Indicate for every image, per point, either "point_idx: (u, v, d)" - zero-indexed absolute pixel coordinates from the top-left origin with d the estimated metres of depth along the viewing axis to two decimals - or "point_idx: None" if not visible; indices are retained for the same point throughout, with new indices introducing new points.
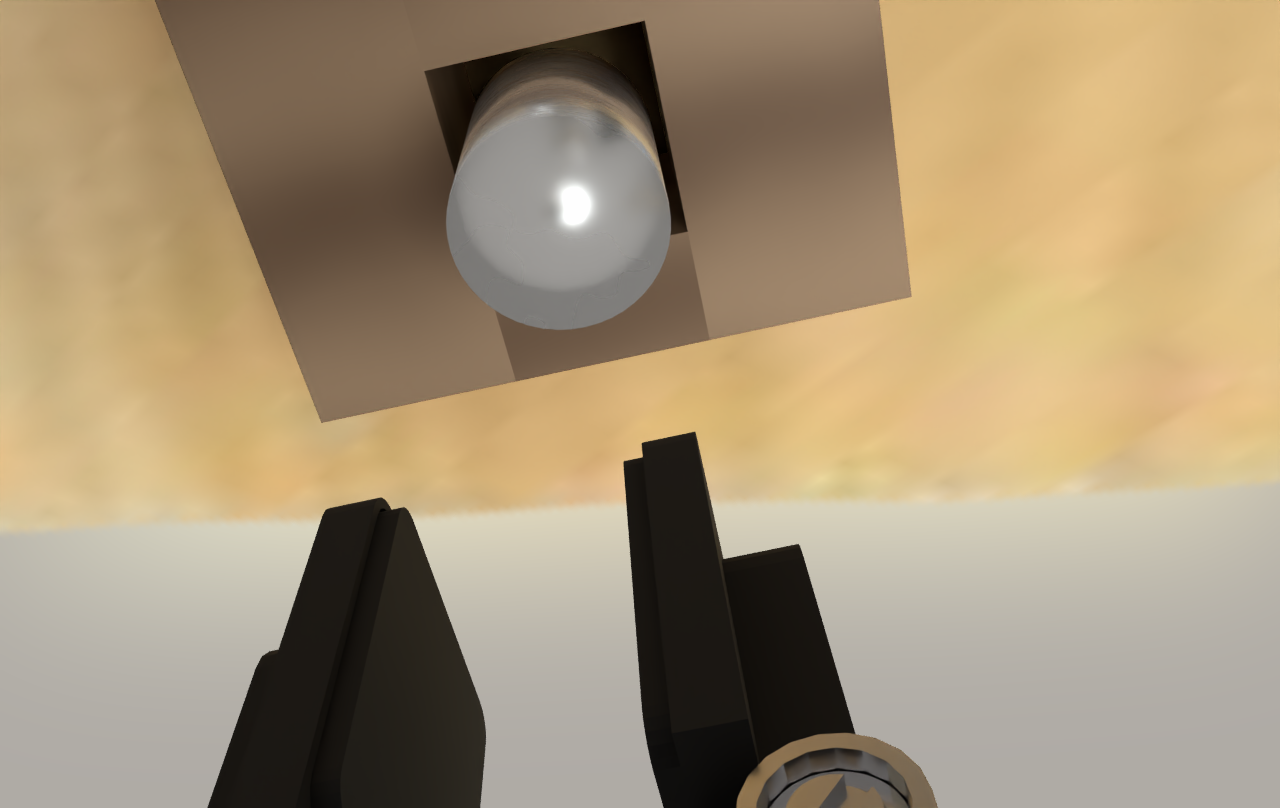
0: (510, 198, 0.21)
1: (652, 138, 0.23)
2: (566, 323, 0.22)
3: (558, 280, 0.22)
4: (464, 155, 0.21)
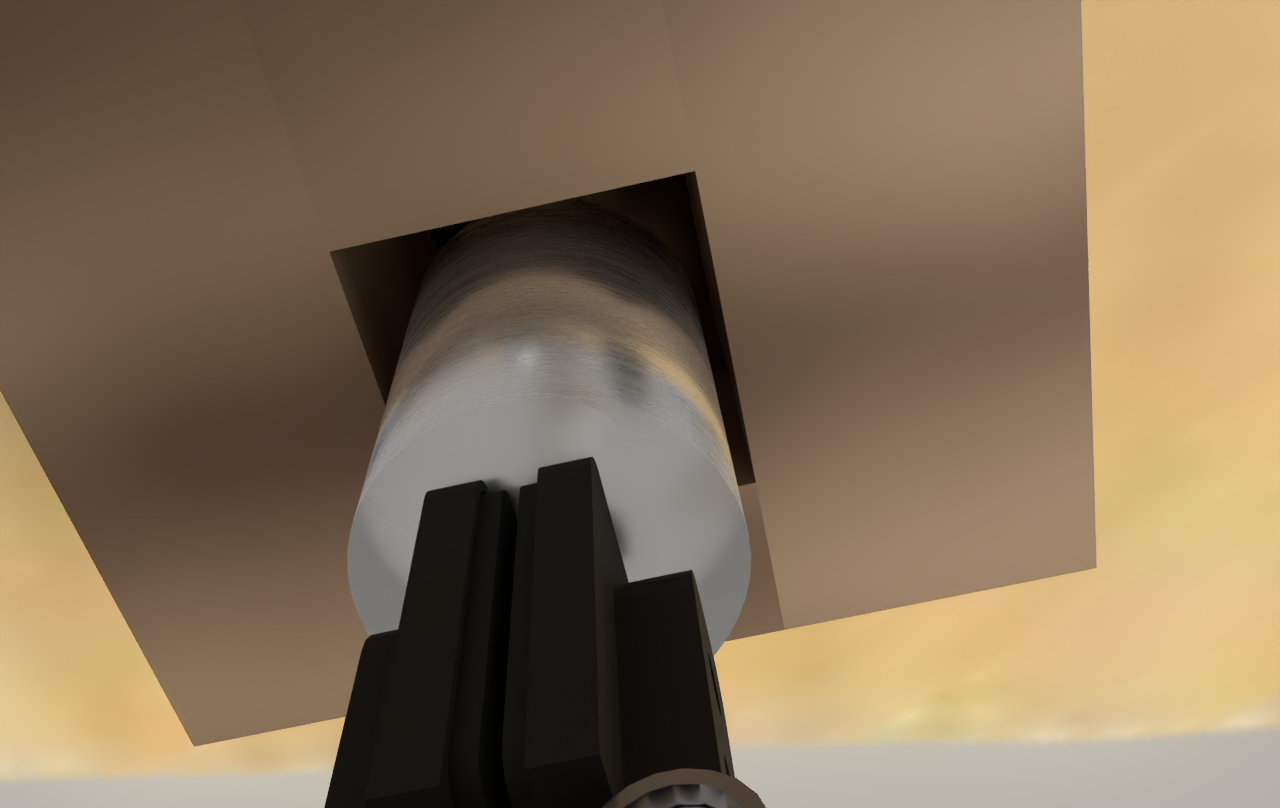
0: None
1: (708, 369, 0.14)
2: None
3: None
4: (382, 441, 0.12)
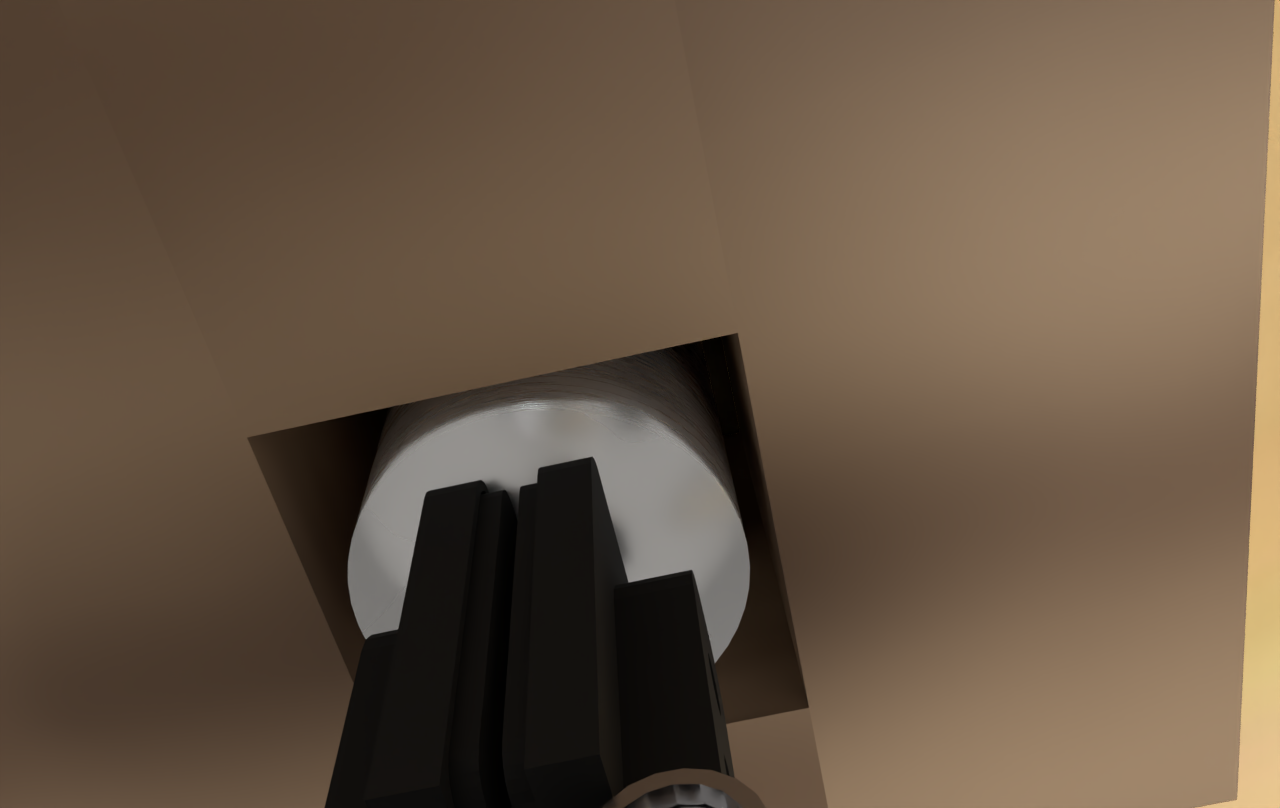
0: None
1: (707, 380, 0.14)
2: None
3: None
4: (382, 453, 0.12)
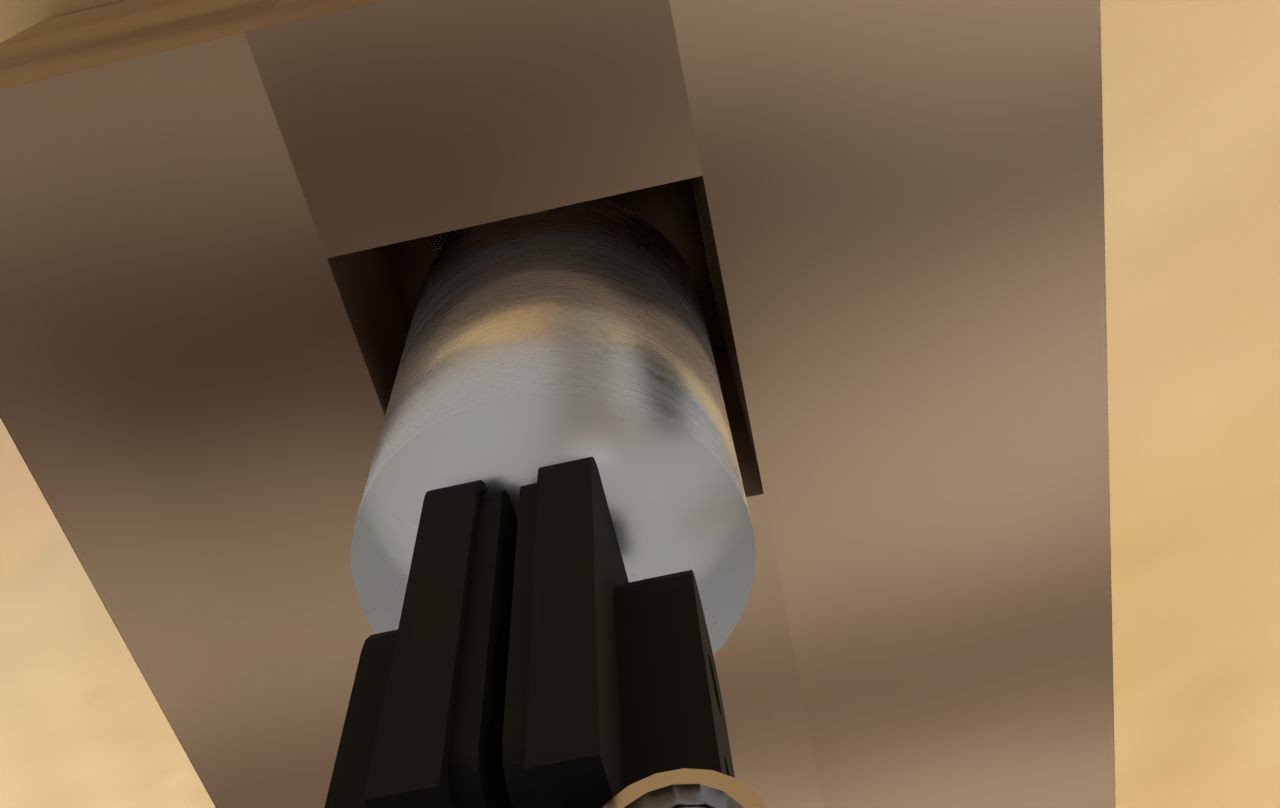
0: None
1: None
2: None
3: None
4: None
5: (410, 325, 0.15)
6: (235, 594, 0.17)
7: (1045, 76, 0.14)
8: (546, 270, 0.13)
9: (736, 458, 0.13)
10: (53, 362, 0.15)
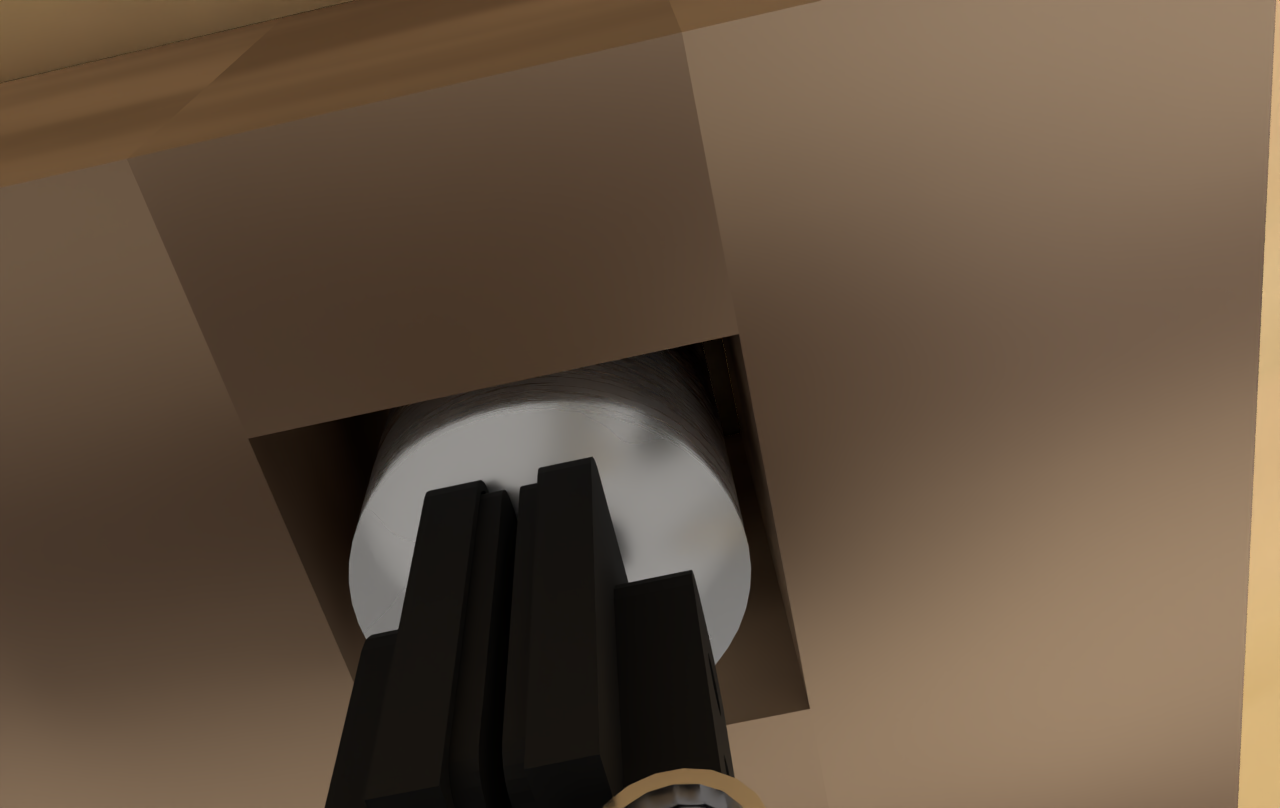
0: None
1: None
2: None
3: None
4: None
5: None
6: None
7: (1192, 208, 0.10)
8: None
9: (731, 475, 0.13)
10: None
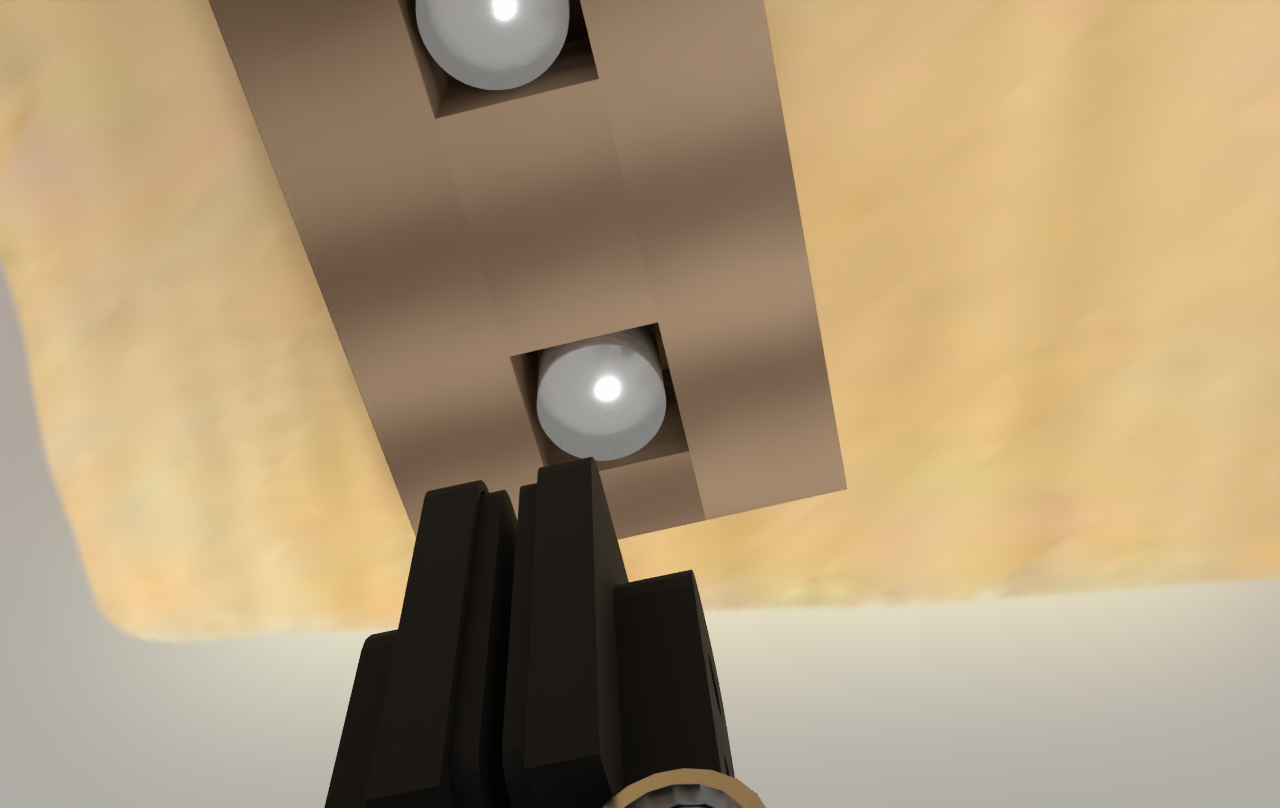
0: (573, 389, 0.36)
1: (654, 341, 0.39)
2: (605, 457, 0.38)
3: (601, 433, 0.37)
4: (546, 363, 0.37)
5: None
6: (331, 139, 0.32)
7: None
8: None
9: None
10: (248, 1, 0.31)
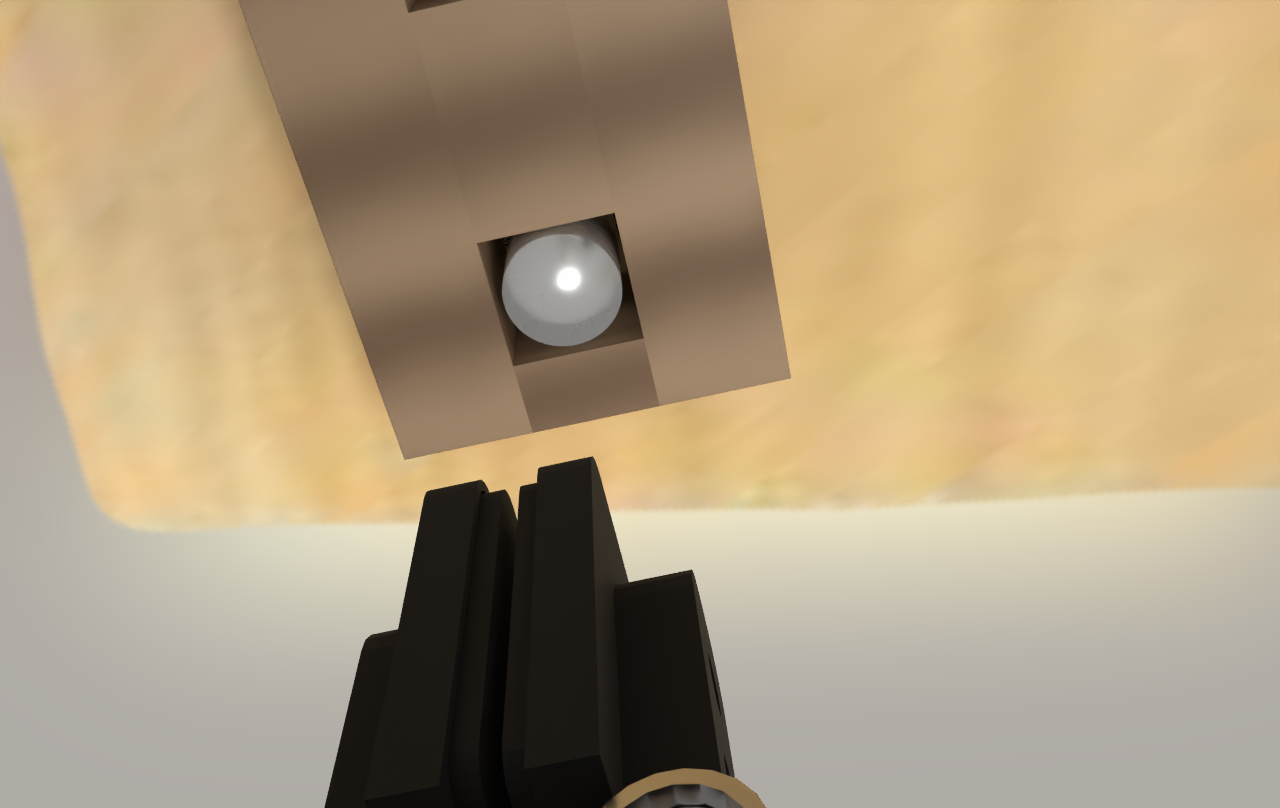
0: (536, 276, 0.39)
1: (614, 238, 0.42)
2: (566, 342, 0.40)
3: (561, 319, 0.40)
4: (511, 253, 0.40)
5: None
6: (313, 30, 0.35)
7: None
8: None
9: None
10: None
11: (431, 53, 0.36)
